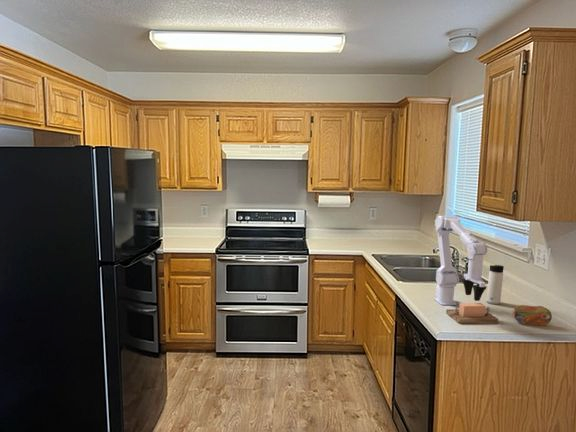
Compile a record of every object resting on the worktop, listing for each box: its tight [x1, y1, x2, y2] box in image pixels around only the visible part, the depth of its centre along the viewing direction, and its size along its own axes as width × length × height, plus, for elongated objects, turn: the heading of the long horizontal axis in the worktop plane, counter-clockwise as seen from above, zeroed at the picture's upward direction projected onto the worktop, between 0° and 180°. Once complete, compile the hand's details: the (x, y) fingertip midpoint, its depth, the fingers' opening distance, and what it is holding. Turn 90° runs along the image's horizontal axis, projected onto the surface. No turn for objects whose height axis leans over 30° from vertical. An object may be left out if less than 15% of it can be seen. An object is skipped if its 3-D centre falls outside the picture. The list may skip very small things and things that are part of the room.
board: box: [445, 306, 499, 325], centre depth 186 cm, size 12×18×5 cm, turn 95°
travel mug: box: [486, 264, 505, 306], centre depth 207 cm, size 6×7×20 cm
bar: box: [458, 302, 486, 317], centre depth 186 cm, size 10×4×6 cm, turn 95°
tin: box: [513, 304, 553, 327], centre depth 181 cm, size 15×3×8 cm, turn 81°
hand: (472, 297), depth 186 cm, fingers open, 7 cm apart
